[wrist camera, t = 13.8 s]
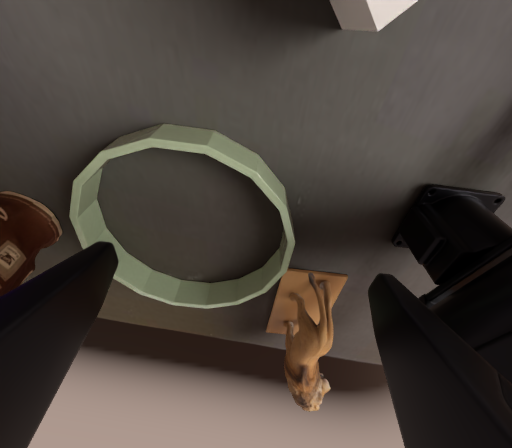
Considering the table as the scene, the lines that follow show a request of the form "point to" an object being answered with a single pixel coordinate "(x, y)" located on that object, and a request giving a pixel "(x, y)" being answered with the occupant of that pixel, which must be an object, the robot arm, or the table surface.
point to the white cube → (368, 13)
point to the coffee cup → (23, 237)
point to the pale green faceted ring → (156, 283)
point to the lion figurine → (308, 349)
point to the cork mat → (300, 284)
